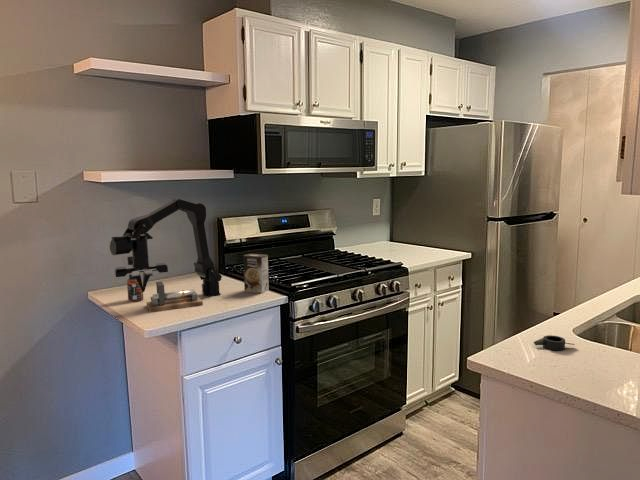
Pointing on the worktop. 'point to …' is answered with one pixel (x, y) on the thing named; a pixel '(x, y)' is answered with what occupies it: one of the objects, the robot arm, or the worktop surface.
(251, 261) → the coffee box
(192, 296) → the pipe rig
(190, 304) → the board
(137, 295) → the supplement bottle
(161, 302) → the slotted grey bracket
